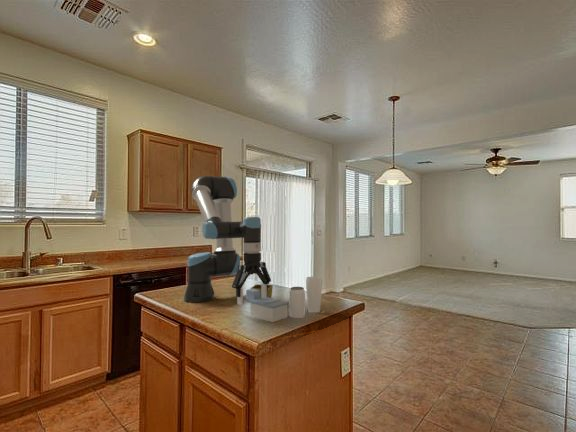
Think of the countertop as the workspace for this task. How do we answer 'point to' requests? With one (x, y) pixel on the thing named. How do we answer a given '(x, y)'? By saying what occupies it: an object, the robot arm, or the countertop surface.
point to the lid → (263, 299)
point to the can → (297, 302)
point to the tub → (268, 312)
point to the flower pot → (269, 289)
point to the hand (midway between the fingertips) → (252, 301)
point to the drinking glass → (314, 293)
